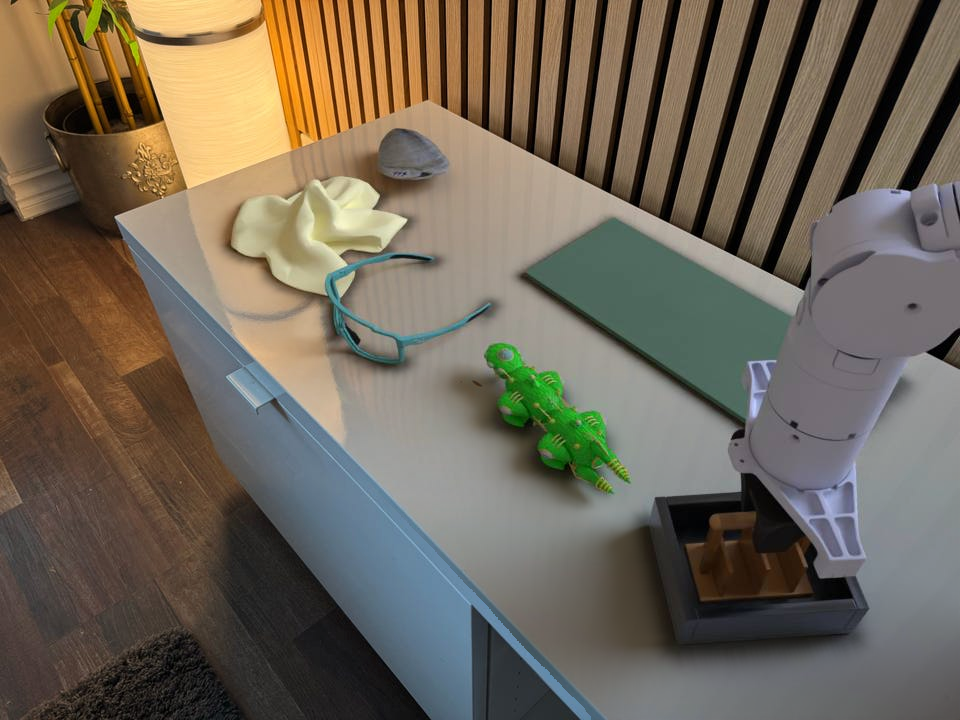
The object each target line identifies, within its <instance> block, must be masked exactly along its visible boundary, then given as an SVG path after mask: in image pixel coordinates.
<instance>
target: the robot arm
mask: <svg viewBox="0 0 960 720" xmlns="http://www.w3.org/2000/svg"><path fill="white" fill-rule="evenodd" d="M937 185H938V184H936V183H931V184H927V185H924V186H922V187H918V188H917V187H916V188H915V189H913V190H911V191H909V190H905V189H893V188H873V189H868V190H865V191H861V192H860V191H859V192H857V193H854V194H853V195H849V196H848V197H846V198H844V199H842V200H840V201H838V202H837V203H836V204H834V205H833V206H832V207H831V212H830V213H828V212H824V214H823V215H822V217H821V218H820V219H819V220H814V221H812V222H811V224H810V227H809V233H808V234H809V235H808V246H809V252H810V255H811V267H810V268H811V269H810V277H809V278H808V280H807V283H806V286H805V289H804V291H803V294H802V297H801V299H800V300H799V302H798V303H797V307H796V311H795V314H794V315H793V316H792V317H793V318H792V320H791V322H790V324H789V327H788V329H787V332H786V335H785V338H784V341H783V344H782V346H781V349H780V352H779V355H778V358H777V360H765V361H749V362H747V363H746V366H745V369H744V372H743V376H742V379H741V383H742V385H743V388H744V390H745V391H747V392H748V402H747V414H746V424H745V427H744V428H741V429H740V428H739V429H737V430H735V431H734V432H733V433H732V435H731V437H730V442H729V443H728V446H727V453H728V456H729V460H730V463H731V465H732V467H733V469H734V470H735V471H736V472H737V473H739V475H740V492H741V509H742V512H752V511H756V522H755V526H754V530H753V535H752V542H753V546H754V549H755V552H756V553H758V554H760V553H776V552H785V551H786V550H787V549H789V548H790V547H791V546H792V545H793V544H795V543H796V542H797V541H799V540H800V539H802V538H803V537H805V536H807V537H808V538H809V540H810V541H811V542H812V543H813V545H814V546H815V548H816V550H817V552H818V555H817V557H816V559H815V561H814V567H815V569H816V572H817V574H818V577H819V578H838V577H849V576H857V574H858V572H859V571H860V569H861V568H862V566H863V564H864V563H865V561H866V560H867V556H866V553H865V551H864V548H863V546H862V542H861V538H860V530H859V515H858V491H857V490H858V489H857V488H858V487H857V468H856V467H857V466H856V460H857V458H858V456H859V455H860V453H861V451H862V449H863V447H864V445H865V443H866V441H867V439H868V438H869V436H870V435H871V432H872V430H873V429H874V427H875V425H876V423H877V421H878V419H879V418H880V415H881V413H882V411H883V409H884V407H886V404H887V402H888V400H889V399H890V397H891V395H892V393H893V391H894V389H895V387H896V386H897V385H896V383H897V382H898V380H899V378H901V376H902V374H903V373H904V370H905V368H906V367H907V365H908V361H909V359H910V358H911V357H916V356H919V355H921V354H924V353H927V352H928V351H930V350H933V349H934V348H936V347H937V346H938V345H940V344H942V343H943V342H944V341H946V340H947V339H948V338H949V337H950V336H951V335H952V334H953V333H954V332H955V331H956V330H958V329H960V179H957V180H955V181H954V182H953V181H951V182H948V183H944V184H942V185H940V186H937ZM895 385H896V386H895Z"/></svg>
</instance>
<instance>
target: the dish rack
mask: <svg viewBox="0 0 960 720" xmlns="http://www.w3.org/2000/svg"><path fill="white" fill-rule="evenodd" d="M755 522H756V511H752V512H736V513H721V514H714V515H712V516H711V517H710V520H709V524H710V528H709V531H708V534H707V537H706V539H705V542H704V543H692V544H685V546H684V547H685V551H686V554H687V558H688V562H689V565H690V569H691V573H692V577H693V580H694V584H695V588H696V591H697V595H698V599H699V602H700V603H706V602H721V601H736V600H751V599H766V598H781V597H796V596H811V595H813V590H812V588H811V585H810V582H809V580H808V577H807V575H806V572H805V571H806V569H807V568H808V566H807V563H806V561H805V558H804V554H805V552H806V550H807V548H808V546H809V544H810V542H811V541H810V540H809V538H808V537H807V536H805V537H803V538H802V539H800V540H799V541H797V542H796V543H795V544H793V545H792V546H791V547H790V548H789V549H787V550H786V551H785V552H776V553H760V554H758V553H756V552H755V549H754V546H753V542H752V535H753V530H754V526H755ZM739 529H742V532H741V534H740V537H739V539H738V541H724V539H723V533H724V530H739Z"/></svg>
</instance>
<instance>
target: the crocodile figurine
mask: <svg viewBox="0 0 960 720" xmlns="http://www.w3.org/2000/svg"><path fill="white" fill-rule="evenodd" d="M483 359H485V361H486V366H487V367H488V368H489V369H493V371H494V374H493V375H494V376H496V377H498V378H500V379H502V380H505V382H504V385H505V390H506V391H505V392H503V394H502V395H501V396H500V397H499V398H498V401H497V405H496V406H497V408H498V409H499V410H500V412H501V413H502V419H503V420H504V421H505V422H507V424H509V425H512V426H514V427H515V426H516V427H519V428H524V426H525V424H526V422H527V421H528V420H529V419H531V420H533V422H532V425H533V426H534V427H536V426H537V425H539V426H540V427H541V428H542V430H543V431H545V434H544V435H543V436H542V437H541V439H540V440H538V444H537V450H538V452H539V453H540V459H541V461H542V462H543V463H544V464H545V465H546V466H547V467H549V468H553V469H556V470H562V471H564V470H565V466H566V465H567V464H569V466H570V468H571V471H572V473H573V476H574V477H575V478H576V479H578V480H581V481H583V482H586V483H587V484H592V485H594V487H595V489H597V490H598V489H599V490H600V491H603V492H604V493H606V494H612V495H614V494H615V491H614V490H613V487H612V486H611V484H609V483H608V481H607V480H605V478H604V476H600V475H598V474H597V472H596V471H595V470H596V469H599V468H601V467H602V466H603V465H604V464H605V465H606V466H605V467H606V468H607V469H609V471H611V472H613V475H615V476H617V478H619V479H620V480H621V481H623V482H625V483H626V482H627V483H628V484H631V483H632V482H631V480H630V478H631V477H630V475H629V472H628V470H627V469H626V466H625V465H623V464H621V462H620V461H619V459H618V457H617V455H616V454H615V452H614V451H613V450H611V449H610V448H609V447H608V446H609V445H608V444H607V441H606V437H607V428H606V427H607V424H608V422H607V419H606V417H605V416H604V415H602V413H600V412H599V411H597V410H589V411H583V412H581V413H579V412H578V411H577V409H578V406H577V405H574V406H570V405H569V404H568V403H567V402H566V401H565V400H564V399H563V394H564V385H565V379H564V378H563V377H562V375H560V374H559V372H557V371H555V370H547V371H542V372H540V373H538V372H537V371H536V365H532V366H531V367H530V366H529V364H528V363H526V359H525V358H524V357H523V356H522V353H521V350H520V349H519V348H518V347H515V346H514V345H511V344H510V343H508V342H496V343H491V344H489V345H488V347H487V348H486V351H485V352H484V353H483ZM524 365H525V366H524ZM571 462H572V463H571Z"/></svg>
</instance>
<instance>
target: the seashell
mask: <svg viewBox="0 0 960 720" xmlns="http://www.w3.org/2000/svg"><path fill="white" fill-rule="evenodd" d="M379 143H380V144H379V146H378V152H377V154H378V156H377V164H376V169H377V170H378V171H379V172H380V173H381V174H383V175H384V176H386V177H389V178H391V179H392V178H393V179H396V180H405V181H406V180H407V181H409V180H410V181H419V180H420V181H421V180H426V179H430V178H433V177H436V176H440V175H443V174H446V173H447V172H448V171H449V170H451V165H450V163H451V162H450V160H449V159H448V157H447V156H446V155H445V154H444V153H443V152H442V150H441V149H440V148H439V146H437V145H436V144H435V143H434V142H433V141H432V140H431V139H429V138H428V137H427V136H424V135H423V134H422V133H420V132H418V131H416V130H413V129H409V128H400V127H395V128H392V129H390V130H389V131H388V132H387V133H385V135H384V136H383V137H382V139H381V141H380V142H379Z"/></svg>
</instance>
